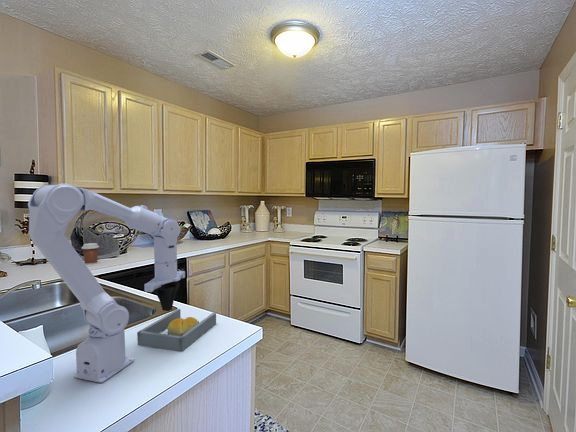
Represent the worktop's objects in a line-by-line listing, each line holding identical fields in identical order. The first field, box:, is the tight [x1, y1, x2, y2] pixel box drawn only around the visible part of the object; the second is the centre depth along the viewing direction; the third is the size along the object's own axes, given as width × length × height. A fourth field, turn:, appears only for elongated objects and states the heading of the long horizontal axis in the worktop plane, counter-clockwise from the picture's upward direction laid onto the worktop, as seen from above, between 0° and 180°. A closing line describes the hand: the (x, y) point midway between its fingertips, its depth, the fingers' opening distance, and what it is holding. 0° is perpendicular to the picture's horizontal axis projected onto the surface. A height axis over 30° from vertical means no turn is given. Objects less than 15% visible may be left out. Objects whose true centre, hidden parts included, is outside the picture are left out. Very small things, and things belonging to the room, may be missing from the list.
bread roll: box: [167, 316, 200, 336], centre depth 91 cm, size 8×9×4 cm
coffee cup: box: [80, 242, 100, 266], centre depth 184 cm, size 9×9×12 cm
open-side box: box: [136, 308, 217, 352], centre depth 89 cm, size 18×14×4 cm
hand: (167, 309), depth 83 cm, fingers closed
